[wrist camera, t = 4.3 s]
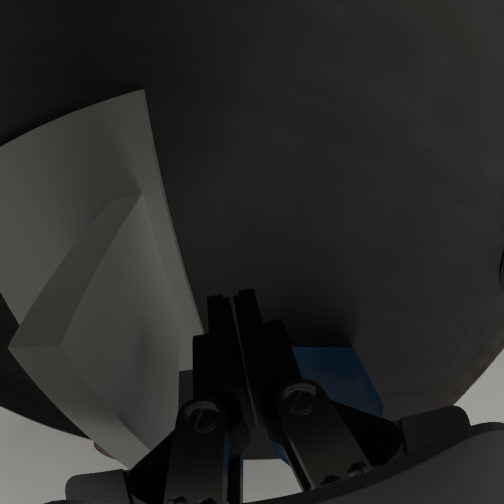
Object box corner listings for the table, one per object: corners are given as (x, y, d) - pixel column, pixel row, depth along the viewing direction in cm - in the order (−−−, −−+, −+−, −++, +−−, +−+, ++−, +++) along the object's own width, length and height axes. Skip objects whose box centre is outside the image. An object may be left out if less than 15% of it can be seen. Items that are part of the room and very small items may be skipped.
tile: (142, 193, 13) (59, 345, 5) (181, 318, 17) (179, 475, 9) (106, 202, 13) (3, 347, 5) (151, 322, 17) (134, 475, 9)
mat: (144, 90, 12) (141, 89, 11) (213, 360, 20) (214, 366, 20) (-40, 173, 11) (-45, 175, 10) (60, 373, 19) (58, 378, 19)
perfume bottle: (261, 393, 23) (290, 519, 13) (284, 345, 21) (332, 498, 10) (323, 391, 25) (364, 500, 15) (352, 347, 22) (414, 470, 12)
